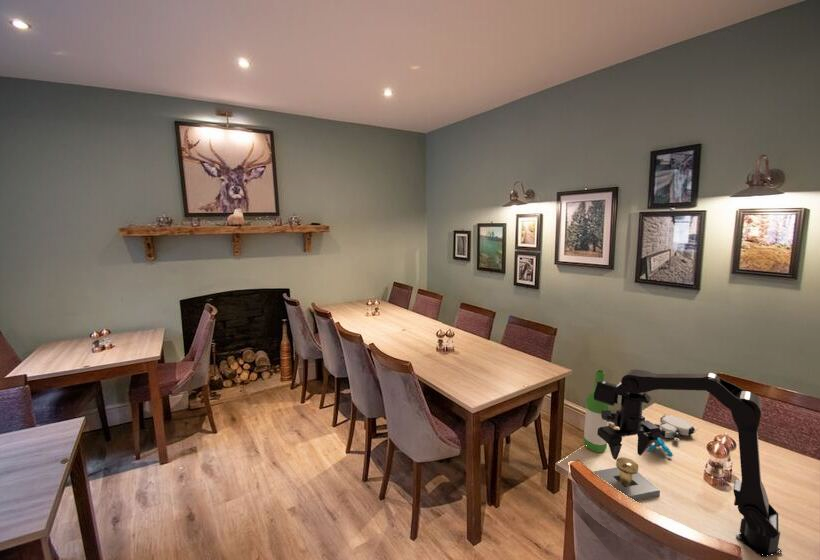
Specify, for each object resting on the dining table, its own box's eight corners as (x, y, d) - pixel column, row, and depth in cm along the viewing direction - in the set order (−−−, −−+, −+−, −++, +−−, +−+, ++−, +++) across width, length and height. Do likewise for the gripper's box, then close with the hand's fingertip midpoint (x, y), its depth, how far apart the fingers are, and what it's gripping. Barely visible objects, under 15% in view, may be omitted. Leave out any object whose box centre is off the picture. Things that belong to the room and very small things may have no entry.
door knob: (640, 491, 115) (643, 468, 113) (624, 494, 114) (626, 471, 112) (625, 478, 121) (628, 456, 119) (610, 481, 119) (612, 458, 118)
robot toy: (679, 449, 137) (699, 435, 144) (679, 438, 136) (700, 424, 143) (645, 433, 148) (666, 420, 155) (645, 422, 147) (666, 410, 154)
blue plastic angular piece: (678, 459, 127) (655, 434, 130) (663, 468, 129) (641, 443, 132) (669, 445, 138) (648, 423, 140) (655, 454, 139) (635, 431, 142)
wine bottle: (591, 438, 143) (596, 365, 138) (610, 448, 136) (617, 372, 132) (579, 445, 139) (584, 370, 134) (599, 456, 132) (604, 377, 127)
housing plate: (659, 495, 113) (660, 490, 112) (620, 503, 110) (620, 497, 110) (628, 470, 124) (629, 465, 124) (592, 476, 121) (593, 471, 121)
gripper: (635, 395, 123) (631, 438, 125) (587, 401, 119) (583, 445, 121) (665, 412, 112) (660, 458, 115) (612, 419, 108) (608, 467, 111)
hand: (627, 456), depth 116 cm, fingers open, 9 cm apart
